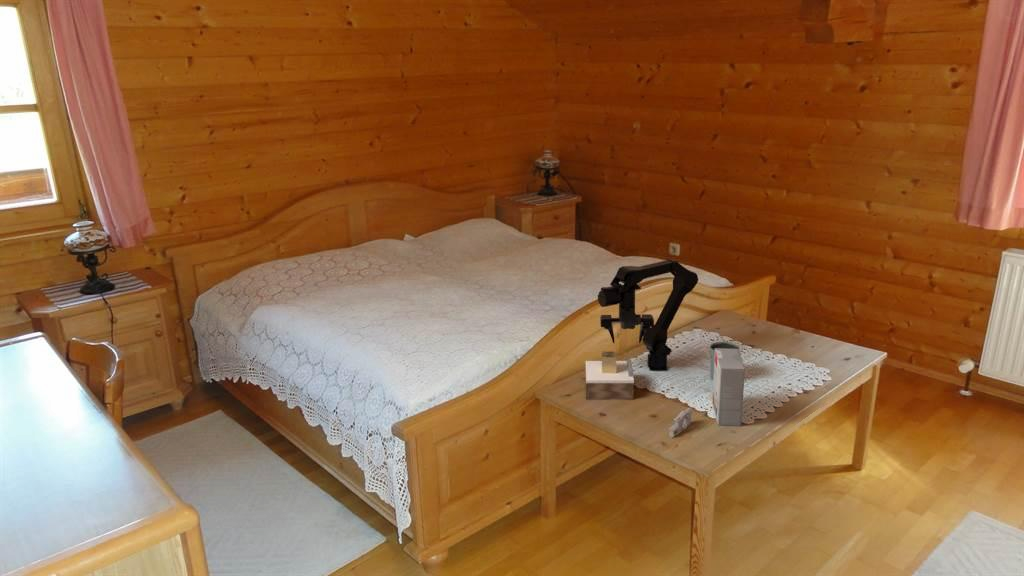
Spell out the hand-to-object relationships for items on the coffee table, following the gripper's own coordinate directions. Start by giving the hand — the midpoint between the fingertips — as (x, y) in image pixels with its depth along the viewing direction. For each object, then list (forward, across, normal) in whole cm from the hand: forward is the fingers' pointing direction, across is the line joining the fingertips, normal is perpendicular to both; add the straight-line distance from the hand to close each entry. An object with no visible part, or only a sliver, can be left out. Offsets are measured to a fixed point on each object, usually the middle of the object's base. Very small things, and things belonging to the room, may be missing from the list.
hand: (626, 342), depth 257 cm
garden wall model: (+13, +14, -40) cm, 44 cm away
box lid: (+6, -7, -12) cm, 15 cm away
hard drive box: (+13, +30, -30) cm, 44 cm away
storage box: (+12, -7, -12) cm, 19 cm away
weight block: (+5, -7, -12) cm, 15 cm away
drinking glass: (+13, +34, -3) cm, 36 cm away
